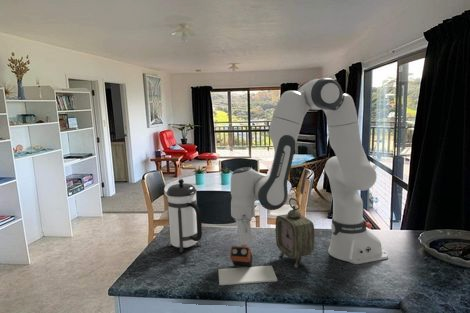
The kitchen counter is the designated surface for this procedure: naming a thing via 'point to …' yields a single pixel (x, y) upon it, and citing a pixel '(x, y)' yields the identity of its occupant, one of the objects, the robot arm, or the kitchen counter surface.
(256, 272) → the mat
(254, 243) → the kitchen counter surface
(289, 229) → the tabletop clock
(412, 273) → the kitchen counter surface
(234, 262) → the battery
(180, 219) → the coffee press
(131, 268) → the kitchen counter surface
